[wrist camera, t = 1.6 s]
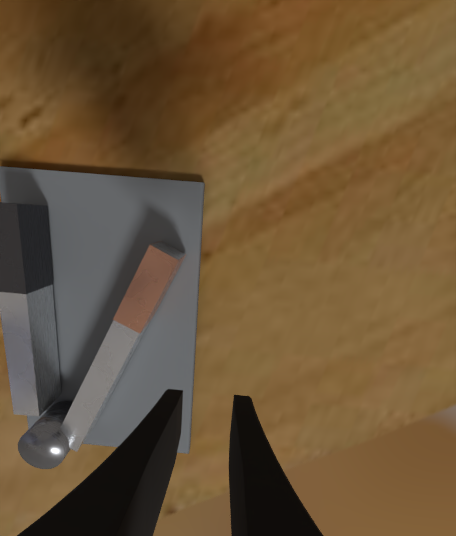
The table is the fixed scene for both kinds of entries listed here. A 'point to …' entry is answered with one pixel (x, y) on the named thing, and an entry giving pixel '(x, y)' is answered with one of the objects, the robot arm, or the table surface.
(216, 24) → the table surface
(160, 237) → the slate mat
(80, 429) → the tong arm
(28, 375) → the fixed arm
